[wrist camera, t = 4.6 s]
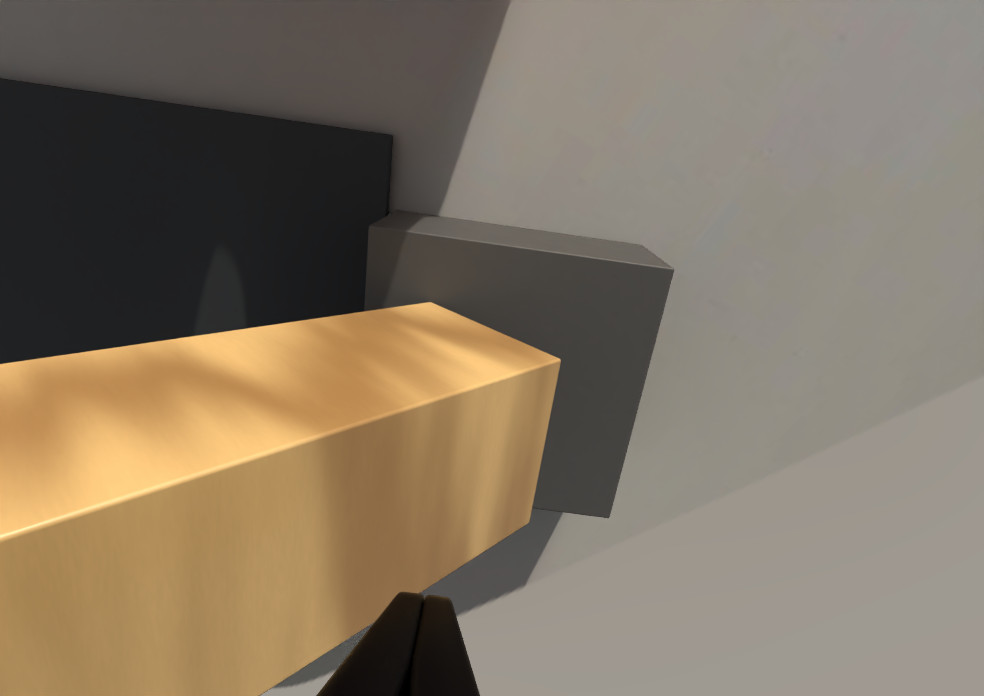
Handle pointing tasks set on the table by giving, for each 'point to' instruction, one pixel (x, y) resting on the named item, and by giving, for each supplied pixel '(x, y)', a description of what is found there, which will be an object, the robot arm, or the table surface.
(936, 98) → the table surface
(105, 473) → the maple block
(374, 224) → the stand
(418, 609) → the robot arm
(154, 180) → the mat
